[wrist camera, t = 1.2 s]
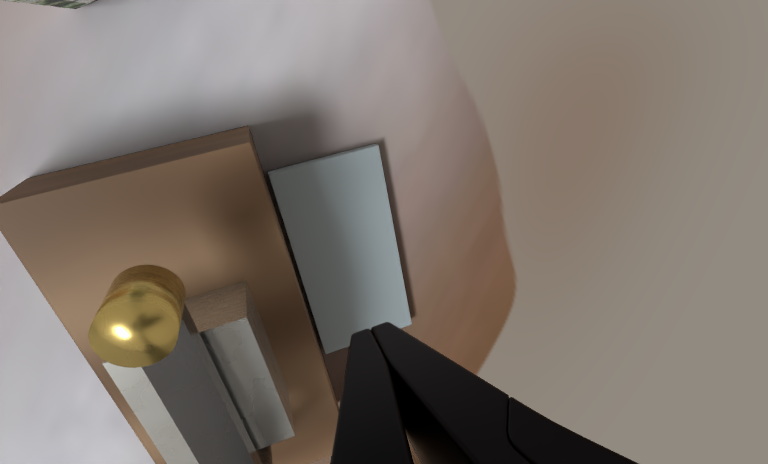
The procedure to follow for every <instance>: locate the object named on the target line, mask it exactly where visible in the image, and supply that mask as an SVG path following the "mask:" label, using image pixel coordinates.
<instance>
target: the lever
mask: <svg viewBox="0 0 768 464" xmlns="http://www.w3.org/2000/svg"><path fill="white" fill-rule="evenodd" d="M185 299H186V290H185V287H184V284H183V282H182V281H181V279H180V278H179V277H178V276H177V275H176V274H175V273H173V272H172V271H170V270H168V269H166V268H164V267H161V266H156V265H138V266H133V267H131V268H128V269H126V270H124V271H123V272H121V273H120V274H119V275H117V277H116V278H115V279H114V280H113V282H112V284H111V286H110V288H109V290H108V292H107V294H106V296H105V298H104V300H103V302H102V304H101V305H100V307H99V309H98V311H97V313H96V315H95V317H94V319H93V321H92V323H91V326H90V328H89V332H88V338H89V343H90V346H91V347H92V349H93V351H94V352H95V353H96V354H97V355H98V356H99V357H100V358H102V359H103V360H105V361H106V362H108V363H111V364H113V365H116V366H121V367H128V368H137V367H142V369H143V370H144V372H145V374H146V375H147V377H148V379H149V381H150V382H151V384H152V386H153V387H154V389H155V391H156V392H157V394H158V396H159V397H160V399H161V401H162V402H163V404H164V406H165V408H166V409H167V411H168V413H169V414H170V416H171V418H172V419H173V421H174V423H175V424H176V426H177V428H178V429H179V431H180V433H181V435H182V436H183V438H184V440H185V441H186V443H187V445H188V446H189V448H190V450H191V451H192V453H193V455H194V456H195V458H196V460H197V462H198V463H199V464H273V462H272V449H271V445H270V446H267V447H264V448H262V449H259V450H256V449H255V447H254V445H253V443H252V441H251V439H250V437H249V435H248V433H247V431H246V429H245V426H244V424H243V422H242V420H241V418H240V416H239V414H238V412H237V410H236V408H235V406H234V404H233V402H232V400H231V398H230V395H229V393H228V391H227V389H226V387H225V385H224V383H223V381H222V379H221V377H220V375H219V373H218V371H217V369H216V367H215V364H214V362H213V360H212V358H211V356H210V354H209V352H208V350H207V348H206V346H205V344H204V342H203V340H202V338H201V336H200V333H199V331H198V329H197V327H196V325H195V323H194V321H193V319H192V317H191V315H190V313H189V311H188V309H187V307H186V305H185Z"/></svg>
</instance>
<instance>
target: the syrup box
mask: <svg viewBox="0 0 768 464" xmlns="http://www.w3.org/2000/svg"><path fill="white" fill-rule="evenodd" d="M5 1H13V2H22V3H31V4H35V5H38V4H39V5H50V6H56V7H62V8H70V9H71V8H72V9H77V8H80V7H82V6H85V5H87V4H89V3H92V2H95V1H97V0H5Z"/></svg>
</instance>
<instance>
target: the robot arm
mask: <svg viewBox="0 0 768 464" xmlns="http://www.w3.org/2000/svg"><path fill="white" fill-rule="evenodd" d="M407 437H408V439H409V441H410V443H411V445H412V447H413V448H414V450H415V452H416V454H417V456H418V458H419V460H420V462H421V464H638V463H636V462H634V461H632V460H630V459H628V458H626V457H624V456H622V455H619V454H618V453H615V452H613V451H611V450H609V449H607V448H605V447H603V446H601V445H599V444H597V443H595V442H593V441H591V440H589V439H587V438H584V437H582V436H580V435H579V434H577V433H575V432H573V431H571V430H569V429H567V428H565V427H563V426H561V425H559V424H557V423H555V422H553V421H551V420H550V419H548V418H546V417H544V416H543V415H541V414H539V413H538V412H536V411H534V410H532V409H531V408H529V407H527V406H525V405H524V404H522V403H521V402H519V401H517V400H516V399H514V398H512V397H510V398H509V396H508V395H507V394H506V393H504V392H502V391H501V390H499V389H498V388H496V387H494V386H493V385H491V384H489V383H488V382H486V381H485V380H483V379H481V378H480V377H478V376H476V375H475V374H473V373H472V372H470V371H468V370H467V369H465V368H463V367H462V366H460V365H459V364H457V363H455V362H454V361H452V360H450V359H449V358H447V357H445V356H444V355H442V354H441V353H439V352H437V351H436V350H434V349H432V348H431V347H429V346H428V345H426V344H424V343H423V342H421V341H419V340H418V339H416V338H415V337H413V336H411V335H410V334H408V333H406V332H405V331H403V330H402V329H400V328H398V327H397V326H395V325H393V324H392V323H390V322H384V323H382V324H379V325H376V326H373V327H372V328H371V330H370V329H364V330H361V331H358V332H355V333H353V334H352V336H351V340H350V346H349V352H348V358H347V364H346V370H345V376H344V383H343V389H342V395H341V401H340V407H339V413H338V419H337V425H336V432H335V438H334V444H333V450H332V456H331V462H330V464H414V463H413V459H412V455H411V451H410V447H409V443H408V439H407Z"/></svg>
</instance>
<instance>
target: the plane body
mask: <svg viewBox="0 0 768 464" xmlns="http://www.w3.org/2000/svg"><path fill="white" fill-rule="evenodd" d="M0 231H1V232H2V234H3V235H4V237H5V238H6V240H7V241H8V243H9V244H10V246H11V247H12V249H13V250H14V252H15V253H16V255H17V256H18V258H19V259H20V261H21V262H22V264H23V265H24V267H25V268H26V270H27V271H28V273H29V274H30V276H31V277H32V279H33V280H34V282H35V283H36V285H37V286H38V288H39V289H40V291H41V292H42V294H43V295H44V297H45V298H46V300H47V301H48V303H49V304H50V306H51V307H52V309H53V310H54V312H55V313H56V315H57V316H58V318H59V319H60V321H61V322H62V324H63V325H64V327H65V328H66V330H67V331H68V333H69V334H70V336H71V337H72V339H73V340H74V342H75V343H76V345H77V346H78V348H79V349H80V351H81V352H82V354H83V355H84V357H85V358H86V360H87V361H88V363H89V364H90V366H91V367H92V369H93V370H94V372H95V373H96V375H97V376H98V378H99V379H100V381H101V382H102V384H103V385H104V387H105V388H106V390H107V391H108V393H109V394H110V396H111V397H112V399H113V400H114V402H115V403H116V405H117V406H118V408H119V409H120V411H121V412H122V414H123V415H124V417H125V418H126V420H127V421H128V423H129V424H130V426H131V427H132V429H133V430H134V432H135V434H136V435H137V437H138V438H139V440H140V441H141V443H142V444H143V446H144V447H145V449H146V450H147V452H148V453H149V455H150V456H151V458H152V459H153V461H154V462H155V464H167V463H166V461H165V460H164V458H163V457H162V455H161V454H160V452H159V451H158V449H157V448H156V446H155V444H154V443H153V441H152V440H151V438H150V437H149V435H148V434H147V432H146V431H145V429H144V427H143V426H142V424H141V423H140V421H139V420H138V418H137V417H136V415H135V414H134V412H133V410H132V409H131V407H130V406H129V404H128V403H127V401H126V400H125V398H124V397H123V395H122V393H121V392H120V390H119V389H118V387H117V386H116V384H115V383H114V381H113V380H112V378H111V376H110V375H109V373H108V372H107V370H106V369H105V367H104V366H103V361H104V360H103V359H102V358H100V357H99V356H98V355H97V354H96V353H95V352H94V351H93V349H92V347H91V346H90V343H89V338H88V332H89V328H90V326H91V323H92V321H93V319H94V317H95V315H96V313H97V311H98V309H99V307H100V305H101V304H102V302H103V300H104V298H105V296H106V294H107V292H108V290H109V288H110V286H111V284H112V282H113V280H114V279H115V278H116V277H117V275H119V274H120V273H121V272H123V271H124V270H126V269H128V268H131V267H133V266H138V265H156V266H161V267H164V268H166V269H168V270H170V271H172V272H173V273H175V274H176V275H177V276H178V277H179V278H180V279H181V281H182V282H183V284H184V287H185V290H186V298H188V297H192V296H195V295H198V294H201V293H205V292H208V291H211V290H214V289H218V288H221V287H224V286H227V285H231V284H234V283H237V282H240V281H244V280H246V283H247V285H248V288H249V290H250V293H251V295H252V298H253V301H254V303H255V306H256V308H257V311H258V313H259V316H260V318H261V321H262V324H263V326H264V329H265V331H266V334H267V336H268V339H269V342H270V344H271V347H272V349H273V352H274V354H275V357H276V359H277V362H278V365H279V367H280V370H281V372H282V375H283V377H284V380H285V382H286V385H287V388H288V390H289V397H290V404H291V411H292V418H293V425H294V432H295V436H293V437H290V438H288V439H285V440H283V441H280V442H277V443H275V444H272V445H271V449H272V462H273V464H309V463H312V462H314V461H317V460H319V459H322V458H324V457H327V456H329V455H332V450H333V444H334V438H335V432H336V425H337V419H338V413H339V407H338V403H337V400H336V397H335V394H334V391H333V388H332V384H331V381H330V378H329V375H328V372H327V369H326V366H325V363H324V360H323V357H322V353H321V350H320V347H319V344H318V341H317V338H316V335H315V332H314V329H313V326H312V322H311V319H310V316H309V313H308V310H307V307H306V304H305V301H304V298H303V295H302V292H301V288H300V285H299V282H298V279H297V276H296V273H295V270H294V267H293V264H292V261H291V257H290V254H289V251H288V248H287V245H286V242H285V239H284V236H283V233H282V230H281V226H280V223H279V220H278V217H277V214H276V211H275V208H274V205H273V202H272V199H271V195H270V192H269V189H268V186H267V183H266V180H265V177H264V174H263V171H262V168H261V164H260V161H259V158H258V155H257V152H256V149H255V146H254V143H253V140H252V137H251V133H250V130H249V127H248V126H245V127H241V128H236V129H232V130H228V131H224V132H220V133H215V134H211V135H207V136H203V137H199V138H195V139H190V140H186V141H182V142H178V143H174V144H169V145H165V146H161V147H157V148H153V149H149V150H144V151H140V152H136V153H132V154H128V155H123V156H119V157H115V158H111V159H107V160H103V161H98V162H94V163H90V164H86V165H82V166H77V167H73V168H69V169H65V170H61V171H57V172H52V173H48V174H44V175H40V176H36V177H31V178H27V179H26V180H24V181H23V182H21V183H20V184H18V185H17V186H16V187H14V188H13V189H11V190H10V191H8V192H7V193H5V194H4V195H2V196H1V197H0Z"/></svg>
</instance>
